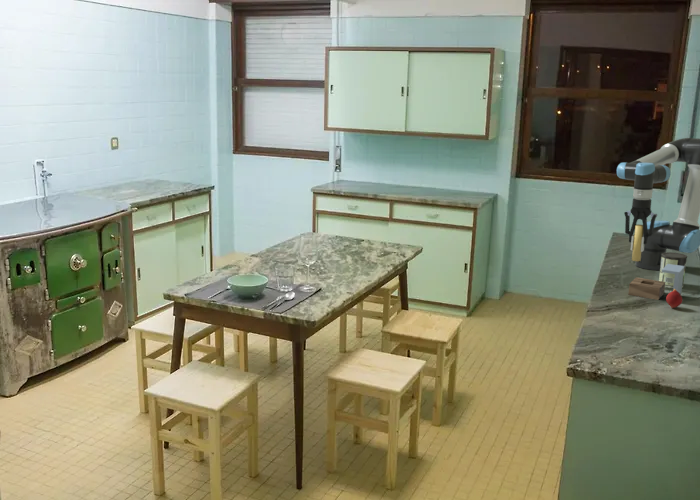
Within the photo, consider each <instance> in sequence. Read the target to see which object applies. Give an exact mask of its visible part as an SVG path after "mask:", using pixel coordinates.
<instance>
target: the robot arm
mask: <svg viewBox="0 0 700 500" xmlns="http://www.w3.org/2000/svg"><path fill="white" fill-rule="evenodd" d="M679 162H681V163H687V167H688V168H689V172H688V177H687V181H686V185H685V189H684V191H683V192H684V193H683V196H682V200H681V204H680V208H679V211H678V216H677V218H676V219H675V220H673V221H672V225H671V222H670V221H668V220H656V218H657V217H658V214H657V213H654V212H652V208H651V207H652V198H653V191H654V190H653V186H654V184H660V183H661V184H662V183H663V182H666V181H668V180H669V179H670V177H671V169H670V167H668V166H666V164H674V163H679ZM616 175H617V177H618V178H619V179H622V180H628V181H634V184H633V185H634V186H633V191H632V193H633V195H632V204H631V209H630V210H626V211H625V212H624V217H625V223H624V224H625V227H624V233H625V234H626V235H628V236H629V238H628V242H629V243H630V251H633V242H634V232H635V225H637V223H638V221H639V220H641V221H642V225H643V237H642V243H641V261H634V262H635V263H634V264H635V265H634V266H636V267H637V268H640V269H643V270H644V269H645V270H651V271H660V268H661V259H662V253H667V250H671V251H676V252H680V253H688V254H691V253H694V252H696V250H698V249H699V247H700V224H699V223H698V221H699V216H700V138H694V137H693V138H692V137H684V138H680V139H676V140H673V141H670V142H668V143H665V144H664V145H662V146H661V147H660V149H657V150H655V151H653V152H651V153H649V154H646V155H645V156H642V157H640V158H638V159H636V160H634V161H631V162H627V161H626V162H620V163H619V164H618V165H617V167H616ZM631 216H633V220H632V224H631V227H630V219H631ZM648 217H650V218H651V219H650V220H649V221H648Z"/></svg>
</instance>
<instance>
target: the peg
mask: <svg viewBox="0 0 700 500" xmlns="http://www.w3.org/2000/svg"><path fill="white" fill-rule="evenodd" d="M633 235H634V242H633V250H632V254H631V261H633V262H636V261H641V243H642V237H643V224H637V223H636V225H635V230H634V234H633Z"/></svg>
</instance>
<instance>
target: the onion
mask: <svg viewBox="0 0 700 500" xmlns="http://www.w3.org/2000/svg"><path fill="white" fill-rule="evenodd" d="M665 301H666V303H667V304H668V306H670V307H671V308H672V309H675V308H678V307H680V305H681V304H682V303H683V297H682V293H681V294H680V293H679V292H678V291H677V290H676V289H673V288H672V291H670V292H669V293H668V294H667V295H666V298H665Z"/></svg>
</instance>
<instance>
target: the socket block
mask: <svg viewBox="0 0 700 500" xmlns="http://www.w3.org/2000/svg"><path fill="white" fill-rule="evenodd" d="M665 288H666V287H665V282H662V281H659V280H655V279H650V278H649V279H648V278H642V277H635V278H634V279H633V280H632V281H631V282H630V283H629V285H628V293H627V294H628V296H633V297H638V296H639V297H641V298H646V299H652V300H657V301H659V299H661V297H662V296H663V295H664V294H665ZM639 297H638V298H639Z"/></svg>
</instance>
